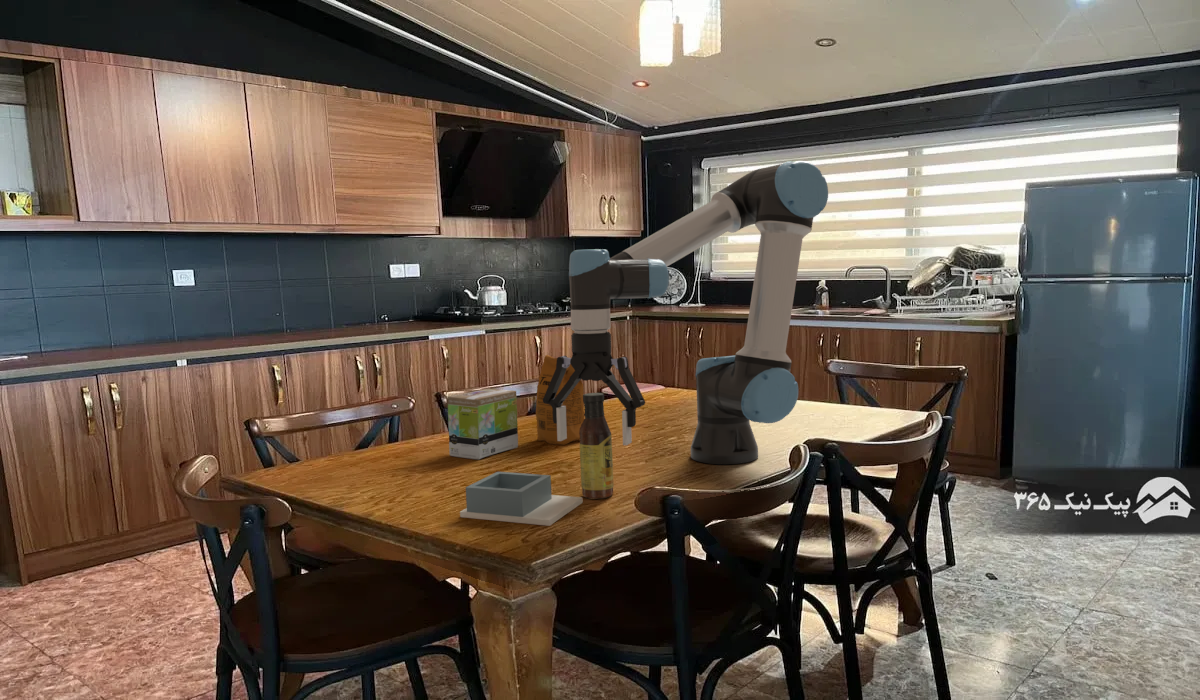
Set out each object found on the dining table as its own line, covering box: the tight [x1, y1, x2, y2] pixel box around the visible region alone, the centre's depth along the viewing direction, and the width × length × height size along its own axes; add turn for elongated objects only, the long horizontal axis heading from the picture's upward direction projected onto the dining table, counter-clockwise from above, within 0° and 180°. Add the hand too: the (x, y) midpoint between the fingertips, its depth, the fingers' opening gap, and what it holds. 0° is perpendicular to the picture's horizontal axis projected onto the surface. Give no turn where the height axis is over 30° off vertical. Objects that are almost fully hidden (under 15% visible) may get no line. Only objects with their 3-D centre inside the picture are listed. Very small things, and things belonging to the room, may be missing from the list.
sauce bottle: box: [579, 392, 614, 500], centre depth 152 cm, size 7×6×20 cm
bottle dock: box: [459, 471, 584, 527], centre depth 146 cm, size 18×14×6 cm
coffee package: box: [535, 354, 585, 446], centre depth 204 cm, size 10×12×22 cm
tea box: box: [447, 388, 519, 460], centre depth 195 cm, size 15×10×15 cm, turn 148°
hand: (594, 442), depth 152 cm, fingers open, 13 cm apart
